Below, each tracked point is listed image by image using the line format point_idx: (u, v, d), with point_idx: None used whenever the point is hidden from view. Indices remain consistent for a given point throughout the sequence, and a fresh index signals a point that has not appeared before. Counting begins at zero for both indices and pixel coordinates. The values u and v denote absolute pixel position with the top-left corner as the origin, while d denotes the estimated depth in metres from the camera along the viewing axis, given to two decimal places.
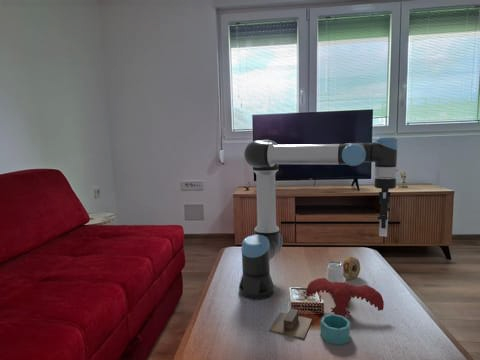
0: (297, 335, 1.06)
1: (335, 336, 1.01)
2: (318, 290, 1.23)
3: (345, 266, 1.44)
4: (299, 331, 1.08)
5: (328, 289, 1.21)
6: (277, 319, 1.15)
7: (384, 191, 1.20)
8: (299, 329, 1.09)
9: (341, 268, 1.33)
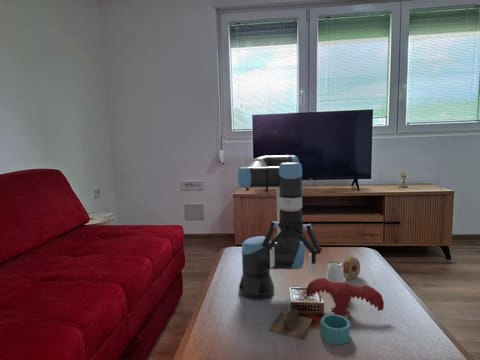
0: (297, 335, 1.06)
1: (335, 336, 1.01)
2: (318, 290, 1.23)
3: (345, 266, 1.44)
4: (299, 331, 1.08)
5: (328, 289, 1.21)
6: (277, 319, 1.15)
7: None
8: (299, 329, 1.09)
9: (341, 268, 1.33)
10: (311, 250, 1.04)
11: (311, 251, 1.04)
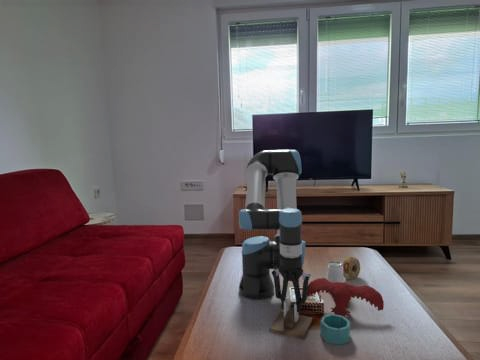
0: (297, 333, 1.05)
1: (335, 336, 1.01)
2: (318, 290, 1.23)
3: (345, 266, 1.44)
4: (299, 330, 1.08)
5: (328, 289, 1.21)
6: (277, 318, 1.15)
7: None
8: (299, 328, 1.09)
9: (341, 268, 1.33)
10: (298, 299, 1.08)
11: (297, 300, 1.09)
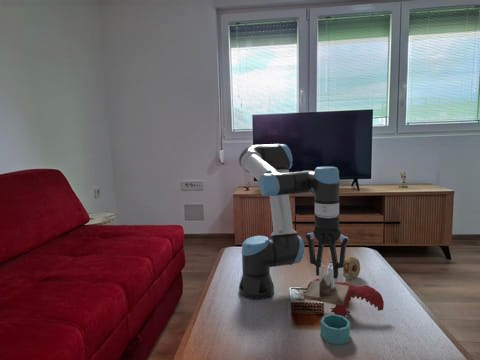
0: (335, 299, 0.98)
1: (335, 336, 1.01)
2: None
3: (345, 266, 1.44)
4: (337, 296, 1.00)
5: None
6: (311, 286, 1.07)
7: None
8: (336, 294, 1.01)
9: (341, 268, 1.33)
10: (335, 264, 1.01)
11: (334, 265, 1.01)
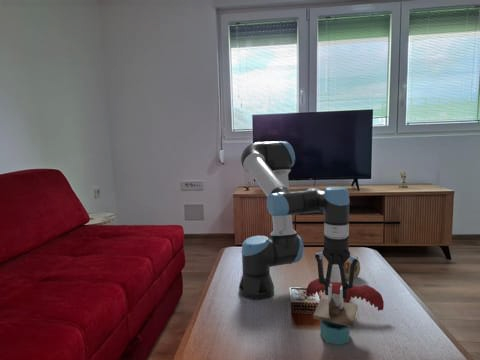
0: (345, 320, 0.98)
1: (335, 336, 1.01)
2: (318, 290, 1.23)
3: (345, 266, 1.44)
4: (346, 316, 1.00)
5: None
6: (319, 305, 1.07)
7: None
8: (346, 314, 1.01)
9: None
10: (344, 284, 1.01)
11: (343, 285, 1.01)
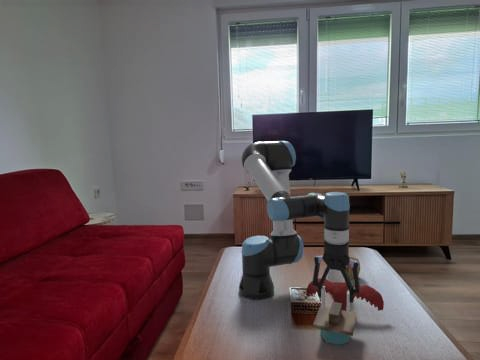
0: (345, 330, 0.98)
1: (335, 336, 1.01)
2: None
3: None
4: (346, 325, 1.01)
5: (328, 289, 1.21)
6: (319, 313, 1.08)
7: None
8: (345, 323, 1.02)
9: None
10: (350, 289, 1.00)
11: (350, 290, 1.00)
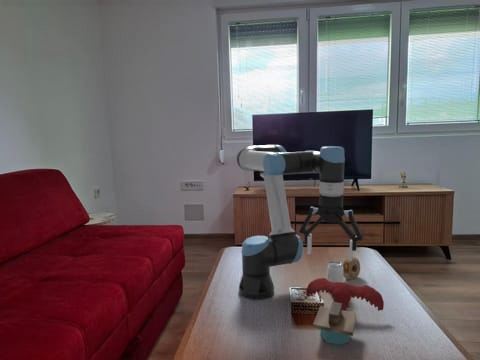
0: (345, 330, 0.98)
1: (335, 336, 1.01)
2: (318, 290, 1.23)
3: (345, 266, 1.44)
4: (346, 325, 1.01)
5: (328, 289, 1.21)
6: (319, 313, 1.08)
7: None
8: (345, 323, 1.02)
9: (341, 268, 1.33)
10: (352, 237, 1.02)
11: (352, 238, 1.02)
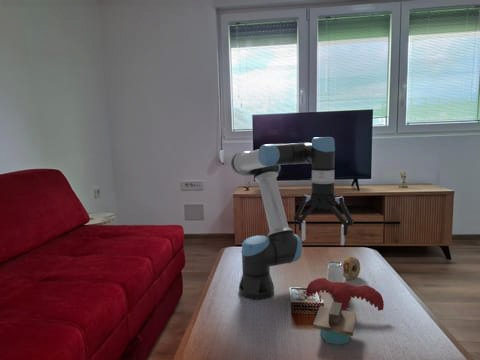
0: (345, 330, 0.98)
1: (335, 336, 1.01)
2: (318, 290, 1.23)
3: (345, 266, 1.44)
4: (346, 325, 1.01)
5: (328, 289, 1.21)
6: (319, 313, 1.08)
7: None
8: (345, 323, 1.02)
9: (341, 268, 1.33)
10: (343, 222, 1.07)
11: (343, 223, 1.07)
